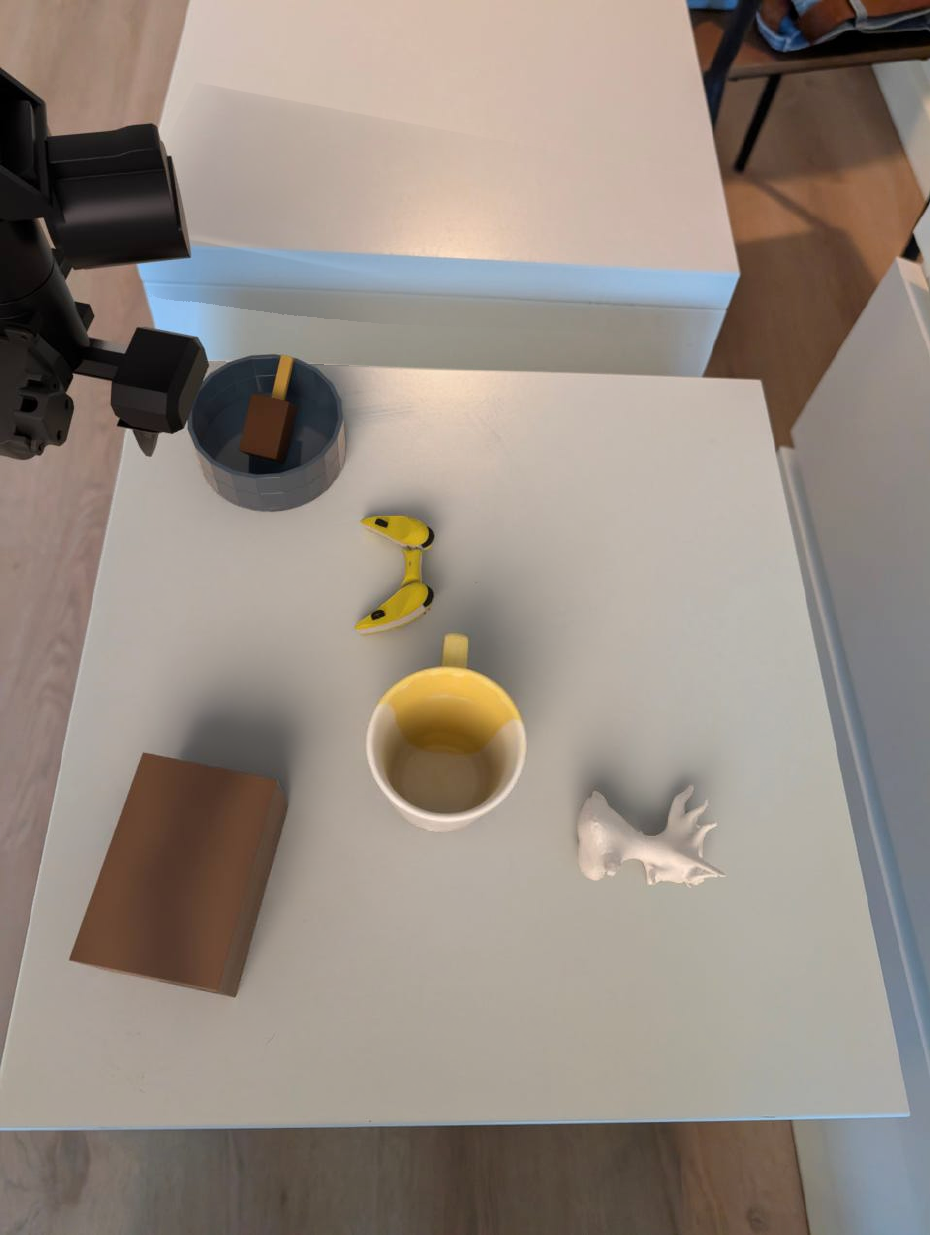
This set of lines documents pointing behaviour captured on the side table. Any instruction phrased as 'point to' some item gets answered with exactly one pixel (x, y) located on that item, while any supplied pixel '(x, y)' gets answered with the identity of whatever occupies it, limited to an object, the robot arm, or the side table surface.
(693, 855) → the figurine
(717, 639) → the side table surface
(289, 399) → the bowl
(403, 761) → the mug
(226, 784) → the stand
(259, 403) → the chocolate ice cream bar
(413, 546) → the game controller
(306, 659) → the side table surface
